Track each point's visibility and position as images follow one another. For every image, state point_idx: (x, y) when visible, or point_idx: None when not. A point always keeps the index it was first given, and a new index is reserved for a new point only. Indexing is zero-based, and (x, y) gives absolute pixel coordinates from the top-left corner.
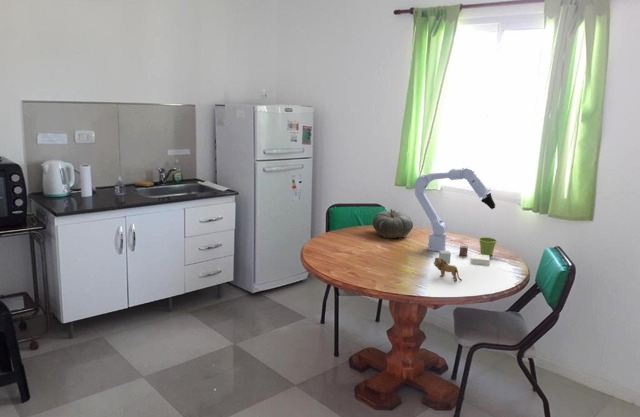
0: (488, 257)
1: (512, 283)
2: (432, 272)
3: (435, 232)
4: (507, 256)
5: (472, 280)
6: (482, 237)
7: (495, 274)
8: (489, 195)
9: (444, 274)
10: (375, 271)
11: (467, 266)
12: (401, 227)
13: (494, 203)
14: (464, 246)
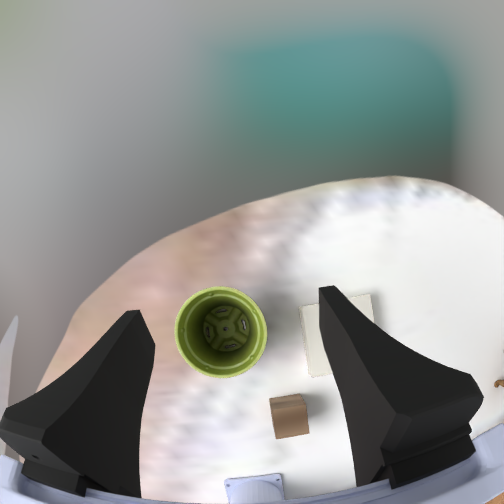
0: None
1: (471, 205)
2: (487, 414)
3: None
4: (209, 245)
5: (500, 304)
6: (189, 364)
7: (439, 256)
8: (76, 438)
9: (499, 380)
10: (499, 496)
11: None
12: None
13: (130, 324)
14: (286, 421)
